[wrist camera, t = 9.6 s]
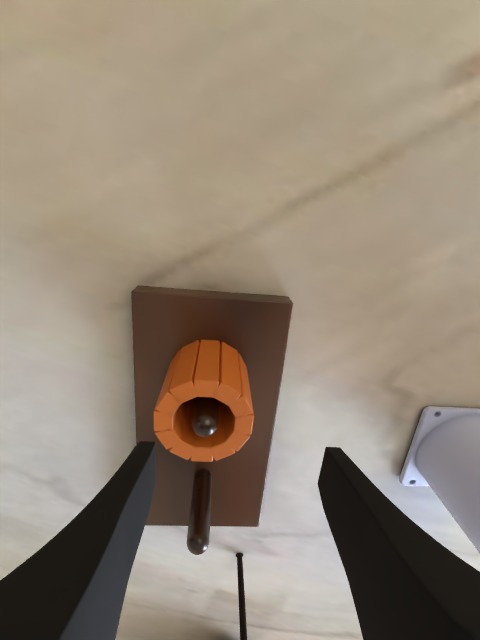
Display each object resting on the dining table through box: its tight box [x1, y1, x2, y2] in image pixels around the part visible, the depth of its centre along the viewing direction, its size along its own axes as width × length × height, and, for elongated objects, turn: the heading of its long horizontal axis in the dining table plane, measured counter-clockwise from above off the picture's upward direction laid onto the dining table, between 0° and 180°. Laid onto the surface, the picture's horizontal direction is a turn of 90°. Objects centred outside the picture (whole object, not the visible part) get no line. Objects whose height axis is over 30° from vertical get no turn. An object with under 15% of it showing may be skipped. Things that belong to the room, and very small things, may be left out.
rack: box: [132, 286, 293, 555], centre depth 20 cm, size 10×20×7 cm, turn 175°
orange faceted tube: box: [154, 340, 254, 462], centre depth 18 cm, size 5×5×5 cm
